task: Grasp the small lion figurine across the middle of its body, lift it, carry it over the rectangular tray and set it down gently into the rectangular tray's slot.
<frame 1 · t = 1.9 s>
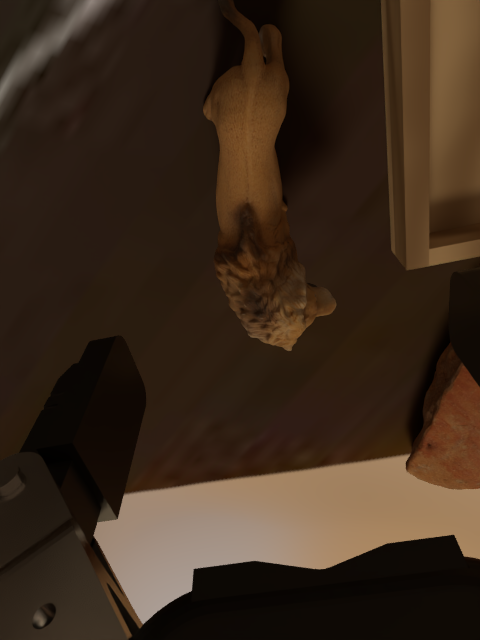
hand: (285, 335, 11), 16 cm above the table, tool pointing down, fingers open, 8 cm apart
rectangular tray: (477, 74, 22), on the table
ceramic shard: (470, 383, 33), on the table
lion figurine: (258, 163, 24), on the table
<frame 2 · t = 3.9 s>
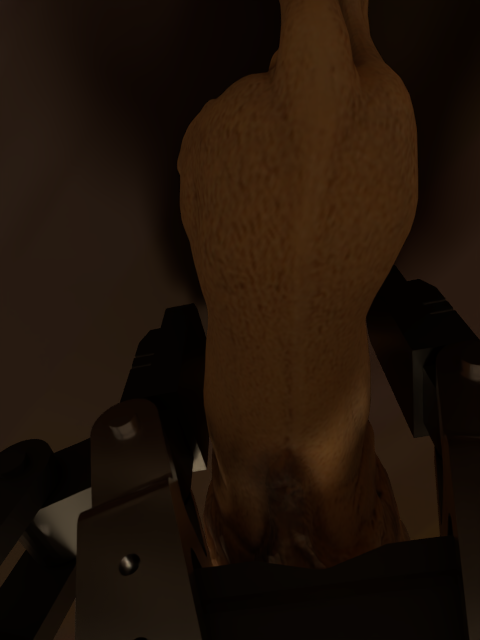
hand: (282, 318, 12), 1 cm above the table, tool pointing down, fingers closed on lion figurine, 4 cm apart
lion figurine: (291, 261, 12), on the table, touching gripper
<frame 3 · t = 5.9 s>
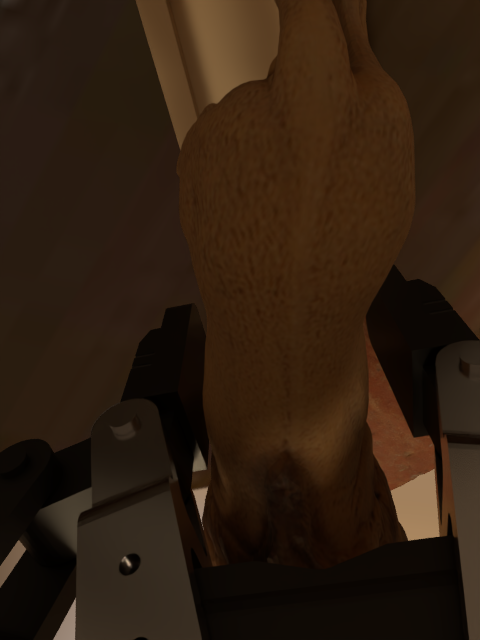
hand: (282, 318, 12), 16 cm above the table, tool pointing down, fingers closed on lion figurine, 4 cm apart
rectangular tray: (271, 146, 24), on the table
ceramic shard: (350, 402, 35), on the table
lion figurine: (290, 263, 12), point 15 cm above the table, touching gripper
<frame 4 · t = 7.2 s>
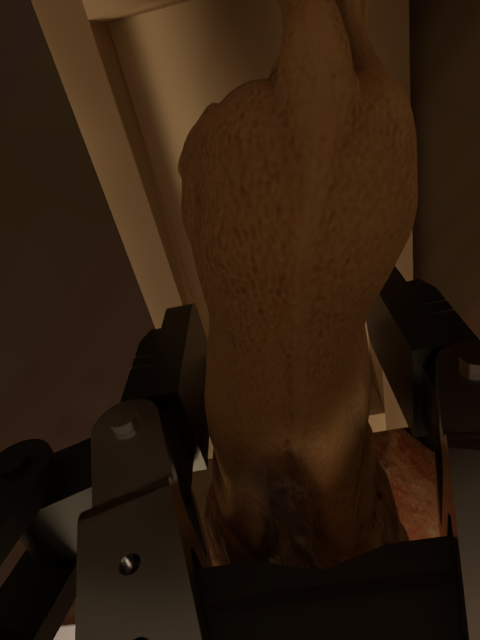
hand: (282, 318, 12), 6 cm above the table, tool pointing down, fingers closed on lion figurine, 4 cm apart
rectangular tray: (267, 233, 17), on the table
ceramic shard: (368, 526, 28), on the table
lion figurine: (291, 263, 12), point 5 cm above the table, touching gripper
when the fingers open (3 cm above the table, at t = 8.1 s): lion figurine stays where it is, resting on rectangular tray.
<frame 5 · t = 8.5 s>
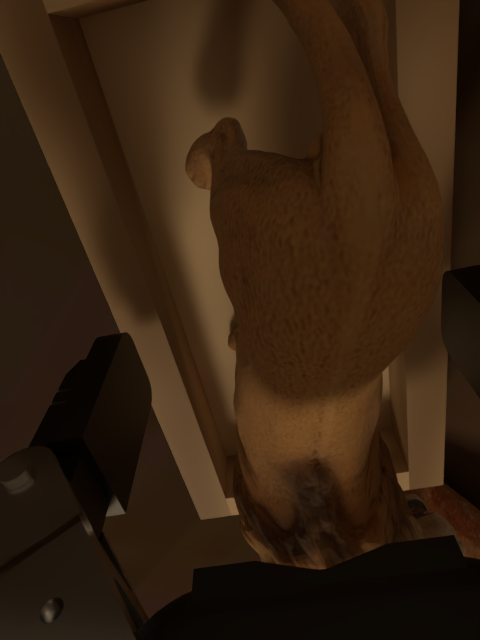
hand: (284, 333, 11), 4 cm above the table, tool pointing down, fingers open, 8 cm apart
rectangular tray: (273, 265, 14), on the table
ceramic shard: (388, 572, 25), on the table
lion figurine: (295, 246, 13), point 1 cm above the table, touching rectangular tray
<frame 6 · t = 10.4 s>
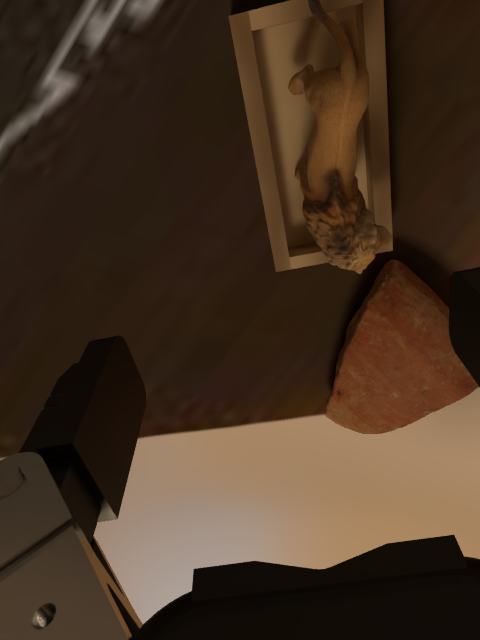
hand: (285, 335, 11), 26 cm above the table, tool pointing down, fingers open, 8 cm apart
rectangular tray: (315, 140, 33), on the table
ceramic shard: (377, 350, 43), on the table
lion figurine: (326, 125, 31), point 1 cm above the table, touching rectangular tray
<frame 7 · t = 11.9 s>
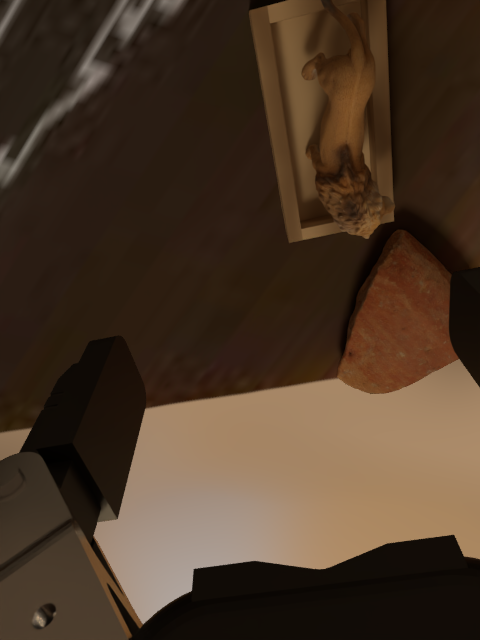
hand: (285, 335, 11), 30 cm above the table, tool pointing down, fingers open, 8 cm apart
rectangular tray: (323, 122, 36), on the table
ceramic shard: (383, 315, 47), on the table
lion figurine: (334, 108, 35), point 1 cm above the table, touching rectangular tray
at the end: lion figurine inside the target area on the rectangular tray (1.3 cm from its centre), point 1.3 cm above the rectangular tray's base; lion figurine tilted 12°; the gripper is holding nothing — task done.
